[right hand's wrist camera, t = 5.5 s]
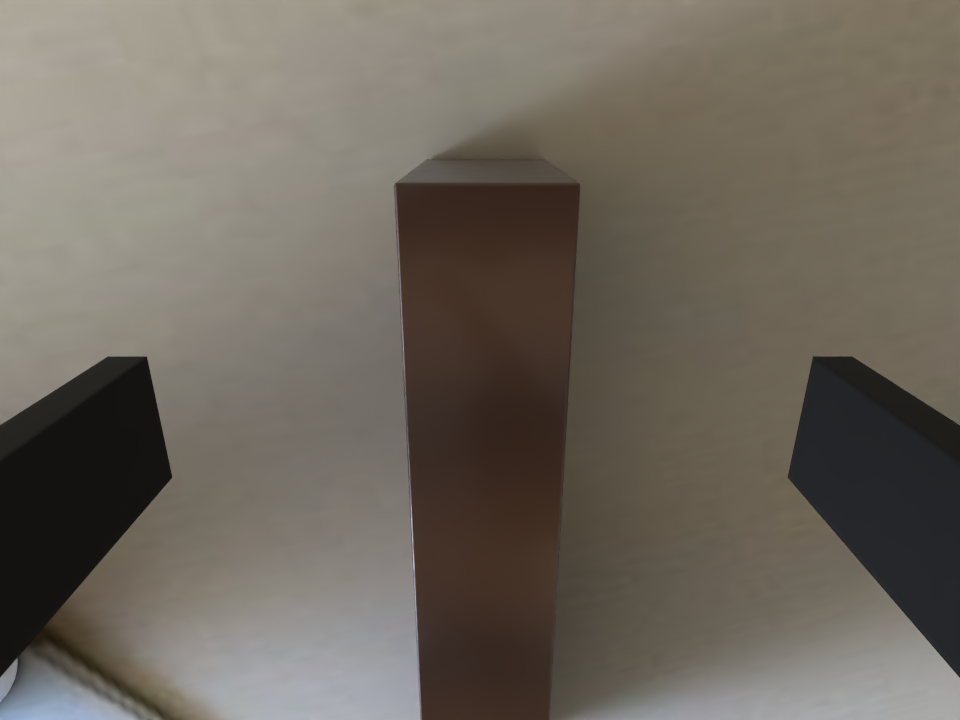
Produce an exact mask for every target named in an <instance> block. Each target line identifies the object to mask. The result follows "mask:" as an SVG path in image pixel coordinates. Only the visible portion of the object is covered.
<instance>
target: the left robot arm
mask: <svg viewBox="0 0 960 720" xmlns="http://www.w3.org/2000/svg"><path fill="white" fill-rule="evenodd" d="M17 666H18V657H17V659H16V660H15V661H14V662H13V663H12V664H11V666H10V667H9V668H8V669H7V670H6V671H5V673H4V674H3V675H2V676H1V677H0V702H1V700H2V699H3V698H4V697H5V696H6V695H7V694H8V692H9V691H10V689H11V687H12V685H13V683H14V680H15V677H16V673H17Z"/></svg>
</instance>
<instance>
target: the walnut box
mask: <svg viewBox="0 0 960 720" xmlns="http://www.w3.org/2000/svg"><path fill="white" fill-rule="evenodd" d="M394 192H395V213H396V233H397V253H398V273H399V293H400V313H401V334H402V354H403V374H404V394H405V414H406V435H407V455H408V475H409V495H410V515H411V536H412V556H413V576H414V596H415V616H416V636H417V657H418V677H419V697H420V717H421V720H550V704H551V687H552V669H553V652H554V634H555V617H556V599H557V582H558V564H559V547H560V529H561V512H562V494H563V477H564V460H565V442H566V425H567V407H568V390H569V372H570V355H571V337H572V320H573V302H574V285H575V267H576V250H577V232H578V215H579V197H580V184H579V183H578V182H576V181H575V180H573V179H572V178H571V177H569V176H568V175H566V174H565V173H563V172H562V171H560V170H559V169H558V168H556V167H555V166H553V165H552V164H550V163H549V162H547V161H546V160H544V159H427V160H425V161H424V162H423V163H422V164H420V165H419V166H418V167H416V168H415V169H414V170H412V171H411V172H410V173H408V174H407V175H406V176H404V177H403V178H402V179H400V180H399V181H398V182H396V183H395V185H394Z"/></svg>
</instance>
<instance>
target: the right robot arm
mask: <svg viewBox="0 0 960 720" xmlns="http://www.w3.org/2000/svg"><path fill="white" fill-rule="evenodd" d="M171 478H172V474H171V469H170V465H169V460H168V455H167V450H166V446H165V441H164V436H163V431H162V427H161V422H160V417H159V412H158V408H157V403H156V398H155V393H154V389H153V384H152V379H151V374H150V370H149V365H148V360H147V357H107V358H105V359H104V360H102V361H100V362H99V363H97V364H96V365H94V366H93V367H91V368H89V369H88V370H86V371H85V372H83V373H82V374H80V375H78V376H77V377H75V378H74V379H72V380H71V381H69V382H68V383H66V384H64V385H63V386H61V387H60V388H58V389H57V390H55V391H53V392H52V393H50V394H49V395H47V396H46V397H44V398H42V399H41V400H39V401H38V402H36V403H35V404H33V405H32V406H30V407H28V408H27V409H25V410H24V411H22V412H21V413H19V414H17V415H16V416H14V417H13V418H11V419H10V420H8V421H6V422H5V423H3V424H2V425H0V677H1V676H2V675H3V674H4V673H5V671H6V670H7V669H8V668H9V667H10V666H11V664H12V663H13V662H14V661H15V660H16V659H17V657H18V656H19V655H20V654H21V653H22V652H23V651H24V649H25V648H26V647H27V646H28V645H29V644H30V642H31V641H32V640H33V639H34V638H35V637H36V635H37V634H38V633H39V632H40V631H41V630H42V628H43V627H44V626H45V625H46V624H47V623H48V621H49V620H50V619H51V618H52V617H53V616H54V614H55V613H56V612H57V611H58V610H59V609H60V607H61V606H62V605H63V604H64V603H65V602H66V600H67V599H68V598H69V597H70V596H71V595H72V593H73V592H74V591H75V590H76V589H77V588H78V586H79V585H80V584H81V583H82V582H83V581H84V579H85V578H86V577H87V576H88V575H89V574H90V573H91V571H92V570H93V569H94V568H95V567H96V566H97V564H98V563H99V562H100V561H101V560H102V559H103V557H104V556H105V555H106V554H107V553H108V552H109V550H110V549H111V548H112V547H113V546H114V545H115V543H116V542H117V541H118V540H119V539H120V538H121V536H122V535H123V534H124V533H125V532H126V531H127V529H128V528H129V527H130V526H131V525H132V524H133V522H134V521H135V520H136V519H137V518H138V517H139V515H140V514H141V513H142V512H143V511H144V510H145V508H146V507H147V506H148V505H149V504H150V503H151V501H152V500H153V499H154V498H155V497H156V496H157V495H158V493H159V492H160V491H161V490H162V489H163V488H164V486H165V485H166V484H167V483H168V482H169V481H170V479H171ZM788 478H789V479H790V481H791V482H792V483H793V484H794V485H795V486H796V488H797V489H798V490H799V491H800V492H801V493H802V495H803V496H804V497H805V498H806V499H807V500H808V501H809V503H810V504H811V505H812V506H813V507H814V508H815V510H816V511H817V512H818V513H819V514H820V515H821V517H822V518H823V519H824V520H825V521H826V522H827V524H828V525H829V526H830V527H831V528H832V529H833V531H834V532H835V533H836V534H837V535H838V536H839V538H840V539H841V540H842V541H843V542H844V543H845V545H846V546H847V547H848V548H849V549H850V550H851V552H852V553H853V554H854V555H855V556H856V557H857V559H858V560H859V561H860V562H861V563H862V564H863V566H864V567H865V568H866V569H867V570H868V571H869V573H870V574H871V575H872V576H873V577H874V578H875V579H876V581H877V582H878V583H879V584H880V585H881V586H882V588H883V589H884V590H885V591H886V592H887V593H888V595H889V596H890V597H891V598H892V599H893V600H894V602H895V603H896V604H897V605H898V606H899V607H900V609H901V610H902V611H903V612H904V613H905V614H906V616H907V617H908V618H909V619H910V620H911V621H912V623H913V624H914V625H915V626H916V627H917V628H918V630H919V631H920V632H921V633H922V634H923V635H924V637H925V638H926V639H927V640H928V641H929V642H930V644H931V645H932V646H933V647H934V648H935V649H936V651H937V652H938V653H939V654H940V655H941V656H942V657H943V659H944V660H945V661H946V662H947V663H948V664H949V666H950V667H951V668H952V669H953V670H954V671H955V673H956V674H957V675H958V676H959V677H960V425H958V424H957V423H955V422H954V421H952V420H950V419H949V418H947V417H946V416H944V415H943V414H941V413H939V412H938V411H936V410H935V409H933V408H932V407H930V406H928V405H927V404H925V403H924V402H922V401H921V400H919V399H918V398H916V397H914V396H913V395H911V394H910V393H908V392H907V391H905V390H903V389H902V388H900V387H899V386H897V385H896V384H894V383H892V382H891V381H889V380H888V379H886V378H885V377H883V376H882V375H880V374H878V373H877V372H875V371H874V370H872V369H871V368H869V367H867V366H866V365H864V364H863V363H861V362H860V361H858V360H856V359H855V358H853V357H813V360H812V365H811V370H810V374H809V379H808V384H807V389H806V393H805V398H804V403H803V408H802V412H801V417H800V422H799V427H798V431H797V436H796V441H795V446H794V450H793V455H792V460H791V465H790V469H789V474H788Z"/></svg>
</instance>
